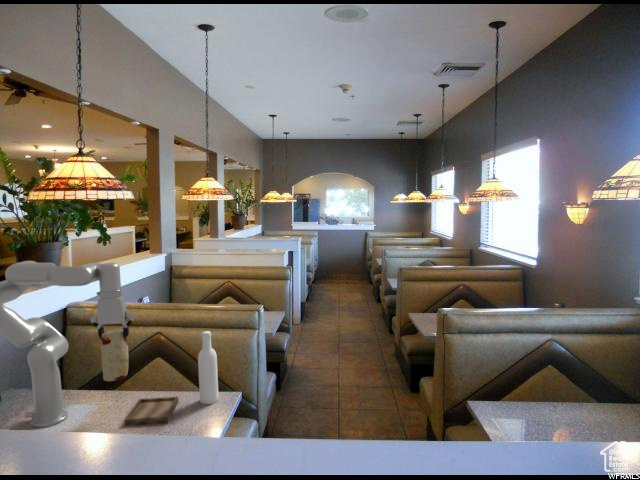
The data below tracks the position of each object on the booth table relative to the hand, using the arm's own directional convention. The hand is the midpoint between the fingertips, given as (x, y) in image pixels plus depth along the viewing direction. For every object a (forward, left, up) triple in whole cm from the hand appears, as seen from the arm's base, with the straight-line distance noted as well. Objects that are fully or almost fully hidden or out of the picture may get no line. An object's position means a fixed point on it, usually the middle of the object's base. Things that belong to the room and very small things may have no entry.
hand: (114, 337), depth 174 cm
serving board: (+13, 0, -32) cm, 35 cm away
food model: (0, 0, -17) cm, 17 cm away
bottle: (+34, +9, -32) cm, 48 cm away
